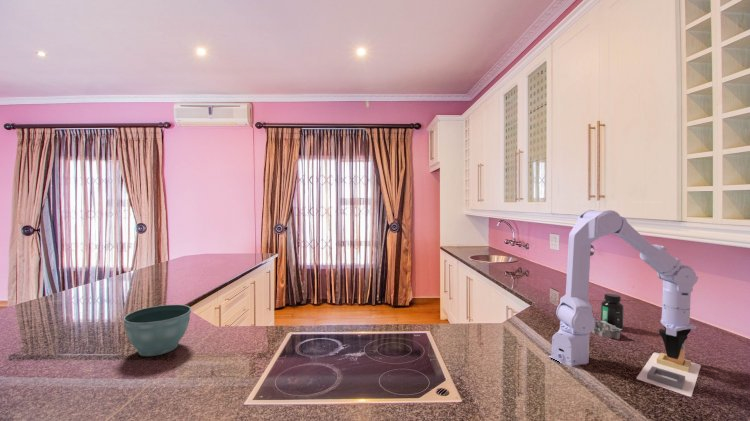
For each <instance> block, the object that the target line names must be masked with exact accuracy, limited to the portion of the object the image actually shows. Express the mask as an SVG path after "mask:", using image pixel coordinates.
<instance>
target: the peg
mask: <svg viewBox="0 0 750 421" xmlns="http://www.w3.org/2000/svg"><path fill="white" fill-rule="evenodd" d="M685 348H686V346H685V342H684V343H683V344H682V347H681V351H680V355H679V357H678V359H674V358H670V357H668V361H670V362H674V363H677V364H681V365H684V359H685V354H686V353H685Z"/></svg>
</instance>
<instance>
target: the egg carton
mask: <svg viewBox="0 0 750 421" xmlns="http://www.w3.org/2000/svg"><path fill="white" fill-rule="evenodd" d="M622 330H623V329H620V328H617V327H615V326H613V325H611V324H609V323H607V322H606V321H601V320H595V328H594V329H593V331H592V332H591V333H592V334H595V335H599V337H603V338H605V339H611V338H612V339H616V340H620V338H621V331H622Z"/></svg>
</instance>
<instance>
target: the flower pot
mask: <svg viewBox="0 0 750 421" xmlns="http://www.w3.org/2000/svg"><path fill="white" fill-rule="evenodd" d="M191 311H192V307H191V306H189V305H185V304H163V305H156V306H150V307H145V308H140V309H138V310H134V311H131V312H130V313H128V314H126V315H125V316H124V317H123V324H124V326H125V327H124V328H125V333H126V337H127V339H128V341H129V342H130V344H131V345H132V346H133V348H135V349H136V350H137V354H138V355H140V356H141V357H155V356H160V355H163V354H168V353H170V352H172V351H174V350H176V349H177V347H178V345H179V342H180V340H182V338H183V337H184V336H185V333H186V332H187V329H188V326H189V324H190V317H191Z"/></svg>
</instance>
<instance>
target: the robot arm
mask: <svg viewBox="0 0 750 421" xmlns="http://www.w3.org/2000/svg"><path fill="white" fill-rule="evenodd" d="M576 220H577V221H576V222H575V224H574V225H573V227H572V229H571V230H570V232H569V233H568V234H569V235H568V242H567V243H568V245H567V246H568V247H567V261H566V263H567V264H566V279H565V280H566V281H565V283H566V284H565V294H564V295H563V296H561V297H560V299H559V305H558V306H557V307H556V312H555V314H556V317H557V319H558V320H559V321H560V323H559V329H558V331H557V332H555V333H554V334H553V335H552V338H551V355H548V358H549V357H551V358H553V359H555V360H557V361H559V362H560V363H559V362H558V363H559V364H561V363H562V364H565V365H567V366H569V367H575V366H578V365H587V364H589V359H590V358H589V357H590V335H591V333H592V331H593V329H594V328H595V322H596V318H595V317H594V313H593V306H592V305H591V303H590V301H589V288H590V287H589V284H590V268H591V267H590V266H591V265H590V263H591V249H592V244H593V243H594V242H596V241H597V240H599V238H601V237H604V236H609V235H615V236H616V235H617V237H619V238H621V240H623V241H625V242H626V243H627V244H629V245H630V246H631V247H632V248H634V249H635V250H636V251H638V252H639V258H640V259H641V261H643V262H644V263H645V264H647V265H648V266H649V267H650V268H652V269H653V271H655V272H656V274H657V277H658V278H659V279H660V280H662V295H661V297H662V298H661V318H660V323H661V324H662V325H663V326H662V327H663V328H664V329H663V328H660V329H659V330H658V333H659V335H660V337H661V339H662V341H663V343H664V348H665V354H667V357H670V358H674V359H678V357H679V355H680V351H681V347H682V344H683V343H684V344H685V341H686V340H687V339H688V338H689V337H688V335H689V334H690V332H691V330H696V325H695V324H690V322H691V297H692V296H691V293H692V292H693V290H694V289H693V287H694V285H695V284H696V283H697V282H698V280H699V276H697V275H696V272H695V271H694V269H693V268H692V267H691V266H689V265H685V264H682V262H681V259H680V258H677V257H675V256H673V254H671V253H670V252H668V251H667V250H668V248H667V247H666V246H664V245H659V244H652V243H650V242H649V241H648V240H647V239H646V238H645V237H644V236H643V235H642V234H641V233H639V232H638V231H637V230H636V229H635V228H634V227H633V226H632V225H631V224H630V223H629V222H628V220H627V219H626V218H625V217H623V216H622V215H620V213H618V211H615V210H612V209H611V210H608V209H607V210H596V209H595V210H594V209H589V210H586V211H584V212H582V213H581V214H579V215H578V216H577V219H576ZM551 358H550V359H551ZM553 359H552V360H553ZM555 360H554V361H555ZM557 361H556V362H557Z"/></svg>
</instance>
